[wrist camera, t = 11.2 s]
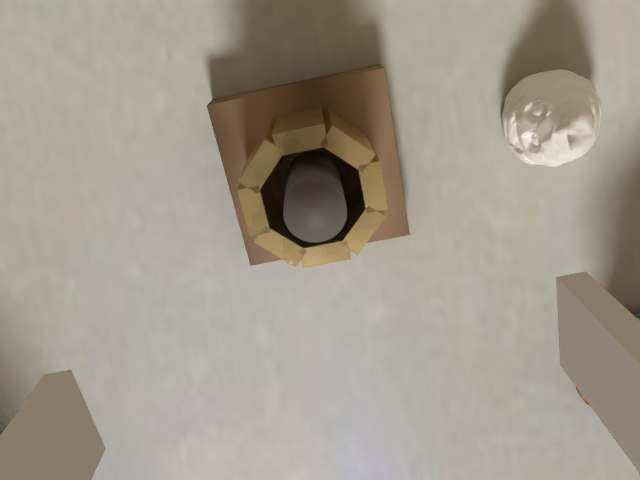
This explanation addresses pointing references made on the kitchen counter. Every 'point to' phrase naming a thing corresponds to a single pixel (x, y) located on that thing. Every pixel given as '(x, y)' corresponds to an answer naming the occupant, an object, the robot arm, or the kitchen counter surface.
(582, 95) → the garlic bulb
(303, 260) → the ring
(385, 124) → the shaft block
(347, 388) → the kitchen counter surface
